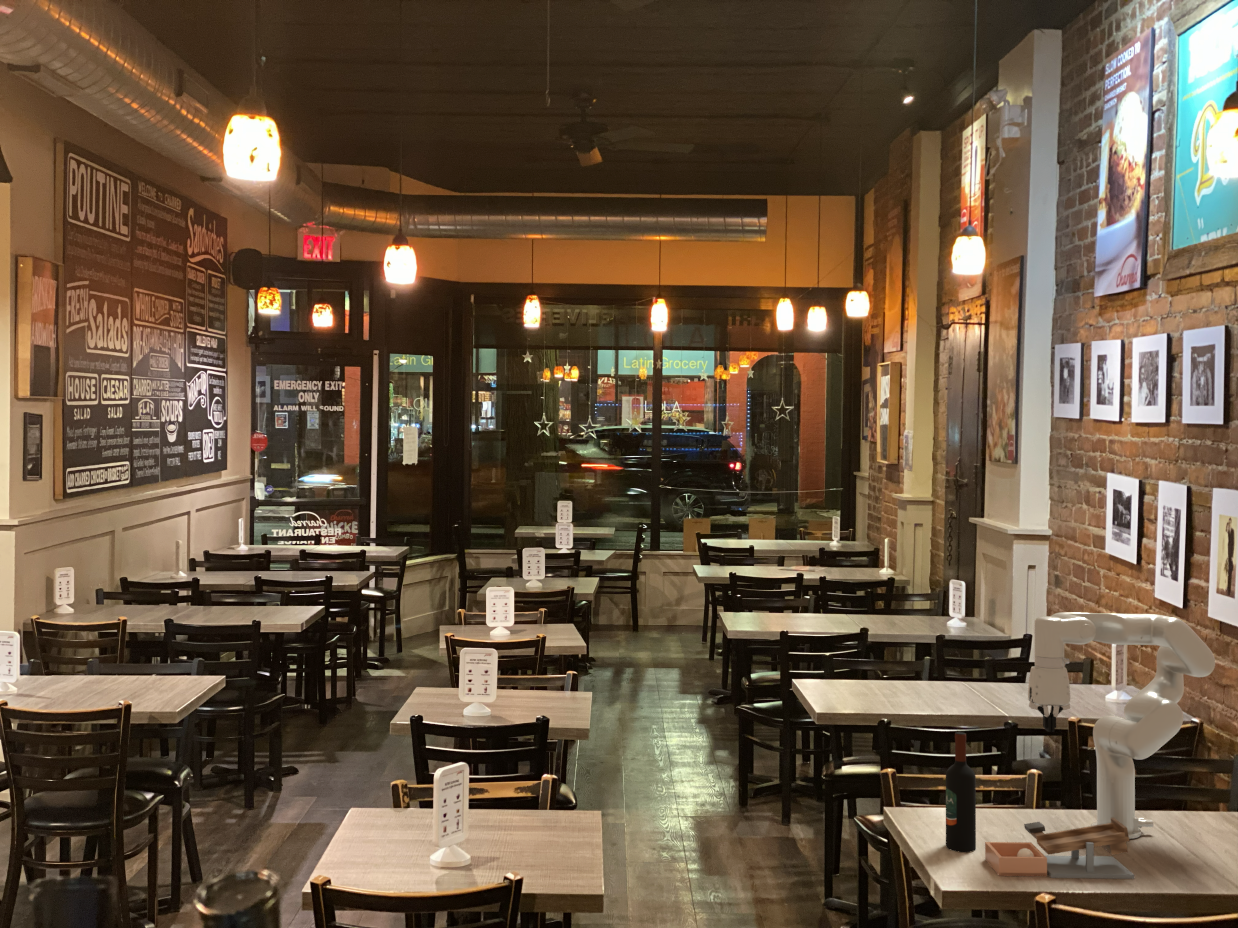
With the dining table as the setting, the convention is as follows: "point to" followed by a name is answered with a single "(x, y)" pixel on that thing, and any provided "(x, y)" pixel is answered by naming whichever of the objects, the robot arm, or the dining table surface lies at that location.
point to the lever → (1082, 837)
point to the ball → (1025, 853)
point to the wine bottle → (960, 801)
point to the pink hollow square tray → (1015, 859)
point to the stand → (1086, 866)
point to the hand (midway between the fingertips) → (1049, 730)
